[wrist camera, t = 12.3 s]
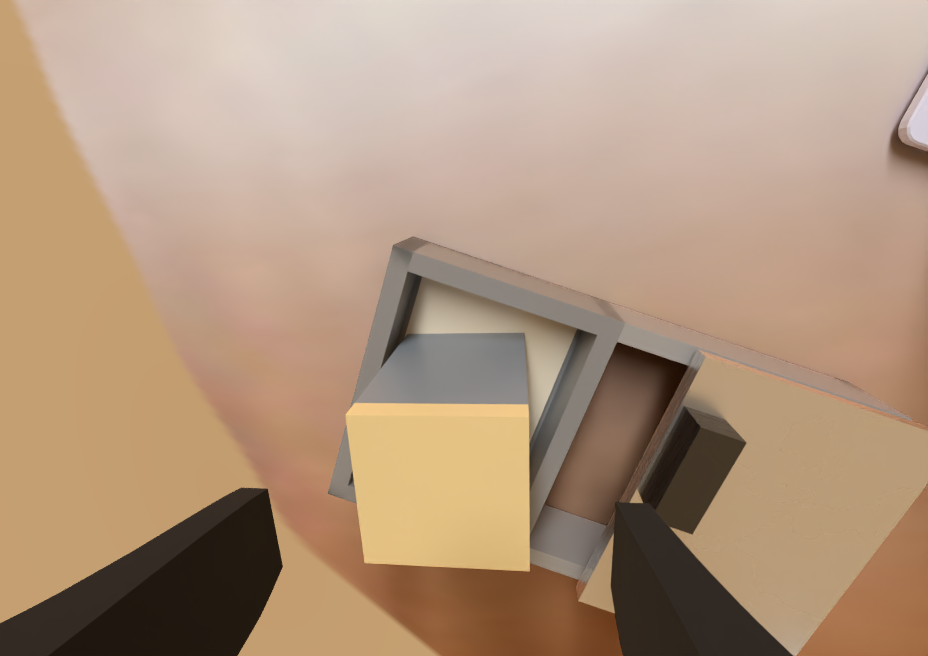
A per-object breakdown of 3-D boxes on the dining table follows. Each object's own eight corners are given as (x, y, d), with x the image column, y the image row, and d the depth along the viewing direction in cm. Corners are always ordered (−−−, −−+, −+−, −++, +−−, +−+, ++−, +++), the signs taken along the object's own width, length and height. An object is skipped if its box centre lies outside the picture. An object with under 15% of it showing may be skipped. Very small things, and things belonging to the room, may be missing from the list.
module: (524, 332, 15) (528, 416, 10) (525, 438, 16) (529, 571, 11) (407, 333, 16) (345, 414, 10) (415, 437, 17) (364, 563, 11)
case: (848, 382, 15) (912, 419, 13) (721, 578, 18) (754, 640, 16) (412, 236, 16) (393, 245, 13) (353, 452, 18) (327, 493, 16)
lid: (939, 430, 13) (1006, 468, 11) (773, 653, 15) (806, 711, 14) (697, 349, 13) (725, 373, 11) (576, 585, 15) (583, 635, 14)
